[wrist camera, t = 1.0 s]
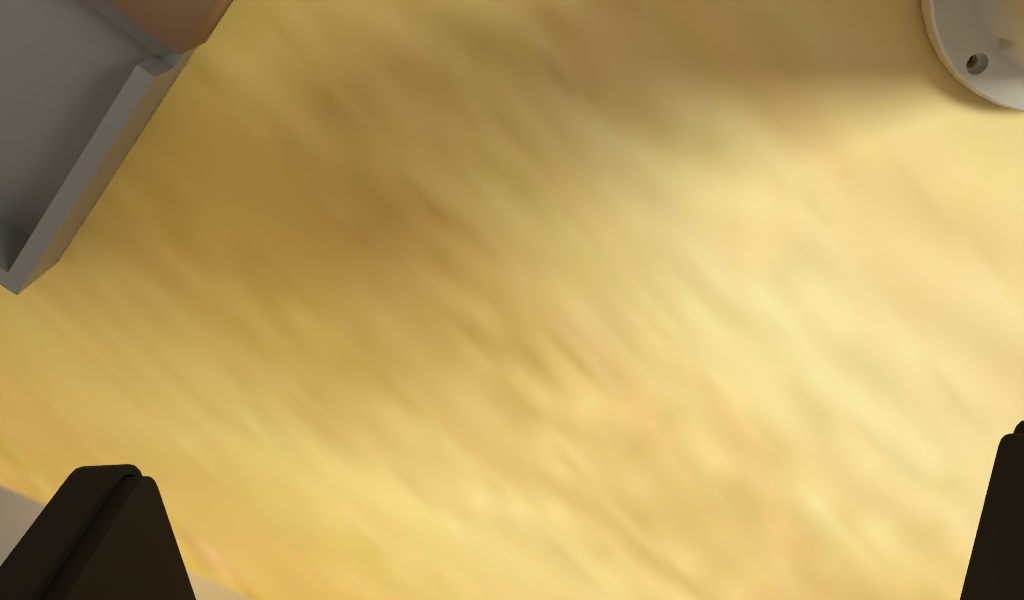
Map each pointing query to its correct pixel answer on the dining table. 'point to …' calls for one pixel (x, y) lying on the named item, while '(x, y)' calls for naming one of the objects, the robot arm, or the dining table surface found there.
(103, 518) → the robot arm
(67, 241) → the tray
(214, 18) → the flat wooden board
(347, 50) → the dining table surface
